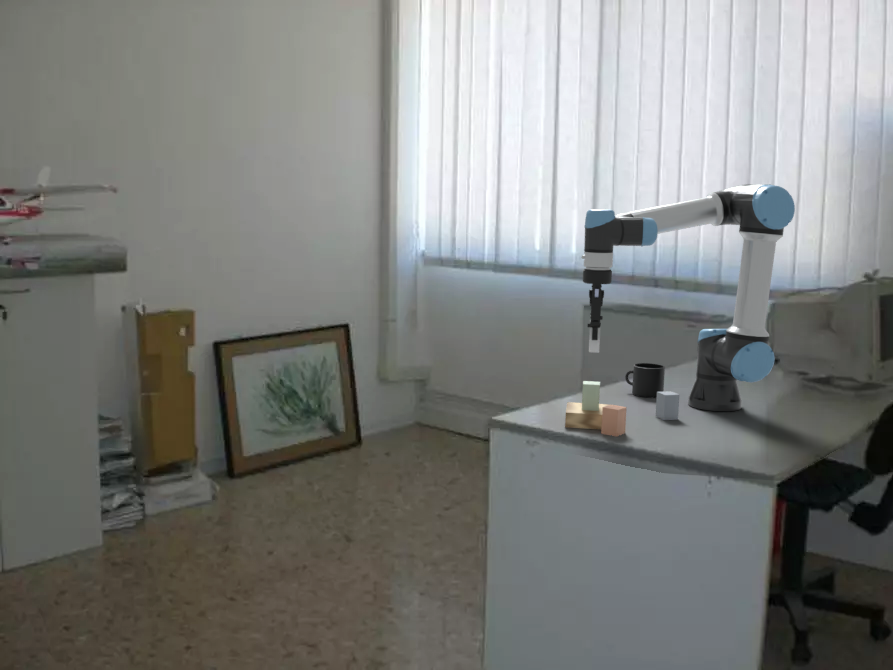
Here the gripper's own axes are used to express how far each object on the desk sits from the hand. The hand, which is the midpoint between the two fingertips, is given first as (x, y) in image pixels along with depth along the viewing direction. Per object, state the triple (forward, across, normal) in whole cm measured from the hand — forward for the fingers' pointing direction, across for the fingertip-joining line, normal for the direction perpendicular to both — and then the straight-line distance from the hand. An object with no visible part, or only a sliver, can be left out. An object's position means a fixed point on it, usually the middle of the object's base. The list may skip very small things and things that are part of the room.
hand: (594, 348), depth 273 cm
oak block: (+20, 0, 0) cm, 20 cm away
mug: (+21, -43, +16) cm, 50 cm away
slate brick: (+21, -12, +21) cm, 32 cm away
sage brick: (+16, 0, 0) cm, 17 cm away
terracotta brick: (+20, +10, +6) cm, 24 cm away
